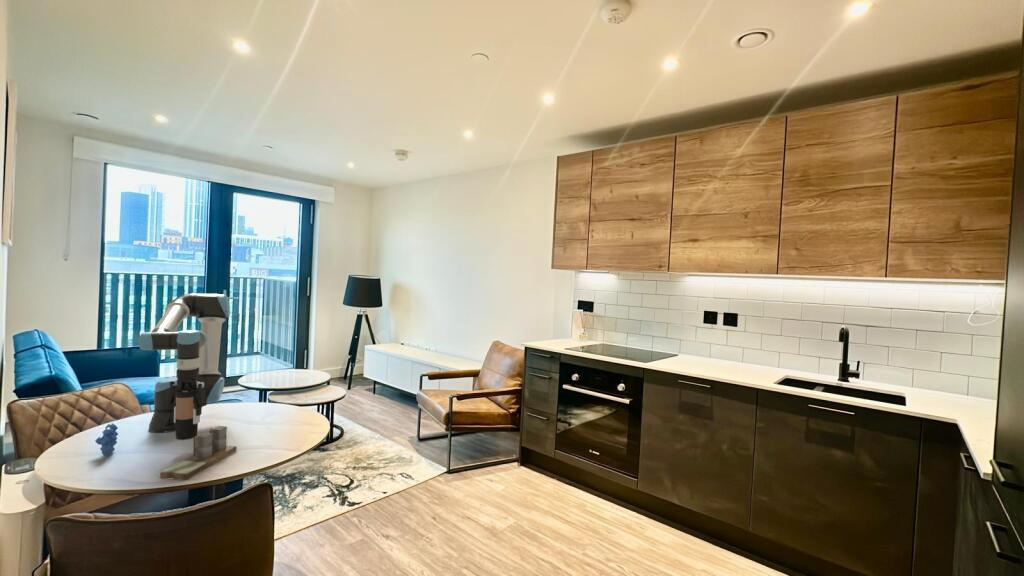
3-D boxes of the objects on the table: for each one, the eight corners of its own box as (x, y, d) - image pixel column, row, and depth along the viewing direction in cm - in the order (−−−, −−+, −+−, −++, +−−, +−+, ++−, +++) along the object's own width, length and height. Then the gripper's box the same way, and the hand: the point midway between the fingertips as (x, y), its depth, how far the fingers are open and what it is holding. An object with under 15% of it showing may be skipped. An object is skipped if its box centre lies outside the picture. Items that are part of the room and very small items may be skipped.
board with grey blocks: (160, 477, 158) (160, 448, 157) (213, 449, 184) (214, 423, 183) (186, 480, 157) (186, 450, 157) (236, 450, 183) (237, 425, 183)
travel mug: (179, 442, 175) (180, 393, 174) (171, 437, 179) (172, 389, 178) (201, 436, 182) (202, 389, 181) (193, 431, 186) (194, 385, 185)
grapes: (100, 449, 178) (100, 421, 177) (121, 447, 181) (122, 419, 180) (89, 461, 167) (89, 430, 167) (112, 458, 171) (112, 428, 170)
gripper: (156, 368, 176) (155, 423, 177) (204, 372, 175) (203, 427, 176) (172, 364, 183) (171, 417, 185) (218, 367, 182) (217, 421, 183)
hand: (186, 422), depth 180 cm, fingers closed on travel mug, 8 cm apart
